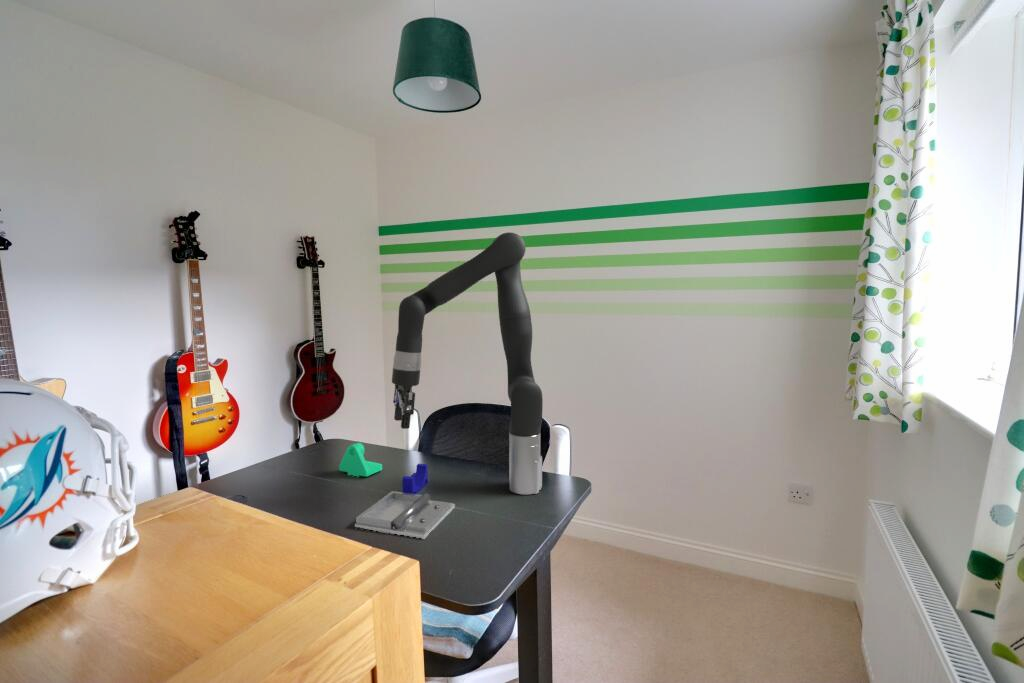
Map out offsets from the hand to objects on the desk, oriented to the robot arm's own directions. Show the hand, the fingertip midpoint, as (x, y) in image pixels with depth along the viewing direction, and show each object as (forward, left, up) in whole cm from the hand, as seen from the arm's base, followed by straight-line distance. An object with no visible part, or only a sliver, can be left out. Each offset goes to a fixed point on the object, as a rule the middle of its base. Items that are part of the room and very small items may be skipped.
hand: (401, 424), depth 134 cm
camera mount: (+23, -14, -22) cm, 35 cm away
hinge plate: (-7, +10, -22) cm, 25 cm away
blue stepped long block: (0, -6, -22) cm, 23 cm away
